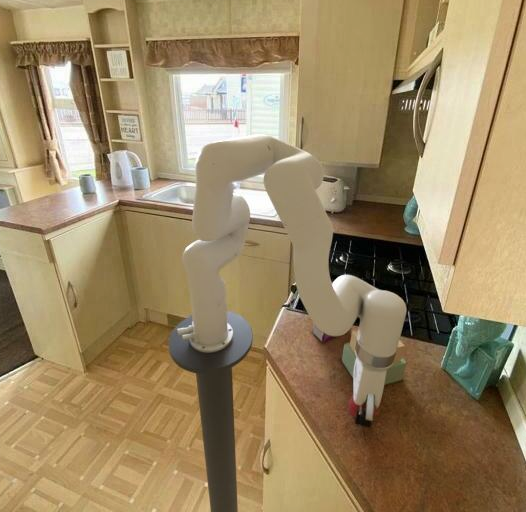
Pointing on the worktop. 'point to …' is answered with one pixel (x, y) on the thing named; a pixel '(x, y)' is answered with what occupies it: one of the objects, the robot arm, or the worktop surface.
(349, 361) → the box stack
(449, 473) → the worktop surface
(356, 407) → the onion
